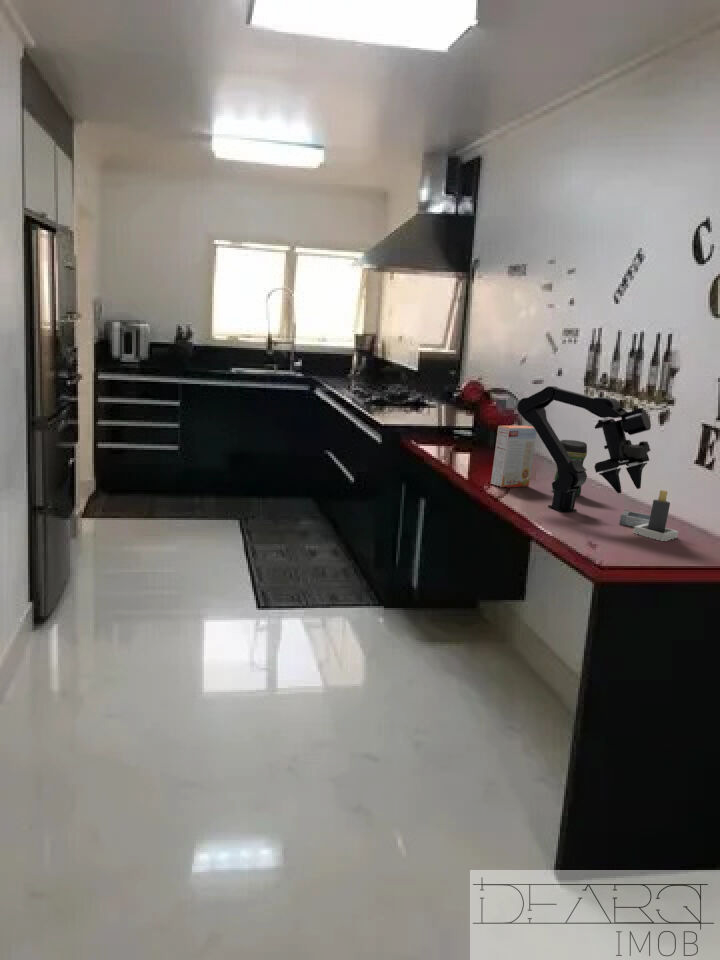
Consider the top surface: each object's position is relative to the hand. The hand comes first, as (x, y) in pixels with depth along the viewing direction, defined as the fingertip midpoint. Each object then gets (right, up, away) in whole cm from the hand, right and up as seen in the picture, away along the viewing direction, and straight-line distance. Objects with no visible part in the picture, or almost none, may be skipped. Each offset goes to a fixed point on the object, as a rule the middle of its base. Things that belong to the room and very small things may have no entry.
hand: (629, 490), depth 234 cm
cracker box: (-27, +1, +44) cm, 51 cm away
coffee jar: (-8, -2, +41) cm, 42 cm away
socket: (+5, -13, -7) cm, 15 cm away
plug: (+5, -13, -7) cm, 15 cm away
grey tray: (+5, -10, +4) cm, 12 cm away
